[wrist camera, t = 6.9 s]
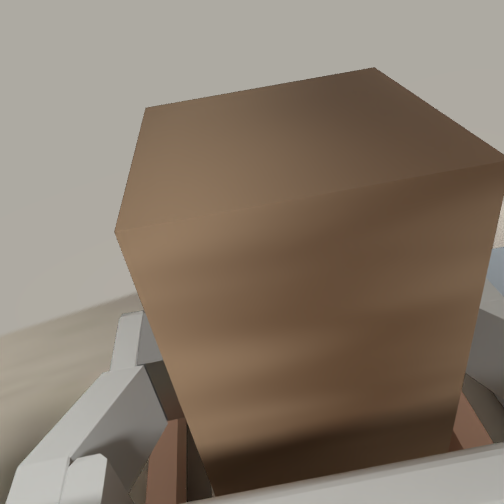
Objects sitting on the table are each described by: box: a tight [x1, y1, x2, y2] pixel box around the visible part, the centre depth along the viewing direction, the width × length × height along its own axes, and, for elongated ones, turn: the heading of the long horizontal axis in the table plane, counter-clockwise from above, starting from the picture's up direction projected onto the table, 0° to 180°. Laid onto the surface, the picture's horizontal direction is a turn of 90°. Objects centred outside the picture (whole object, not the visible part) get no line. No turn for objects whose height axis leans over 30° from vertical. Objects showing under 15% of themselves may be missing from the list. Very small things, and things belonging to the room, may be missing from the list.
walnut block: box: [114, 68, 504, 497], centre depth 10 cm, size 4×4×10 cm
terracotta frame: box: [145, 390, 494, 504], centre depth 12 cm, size 9×9×1 cm
